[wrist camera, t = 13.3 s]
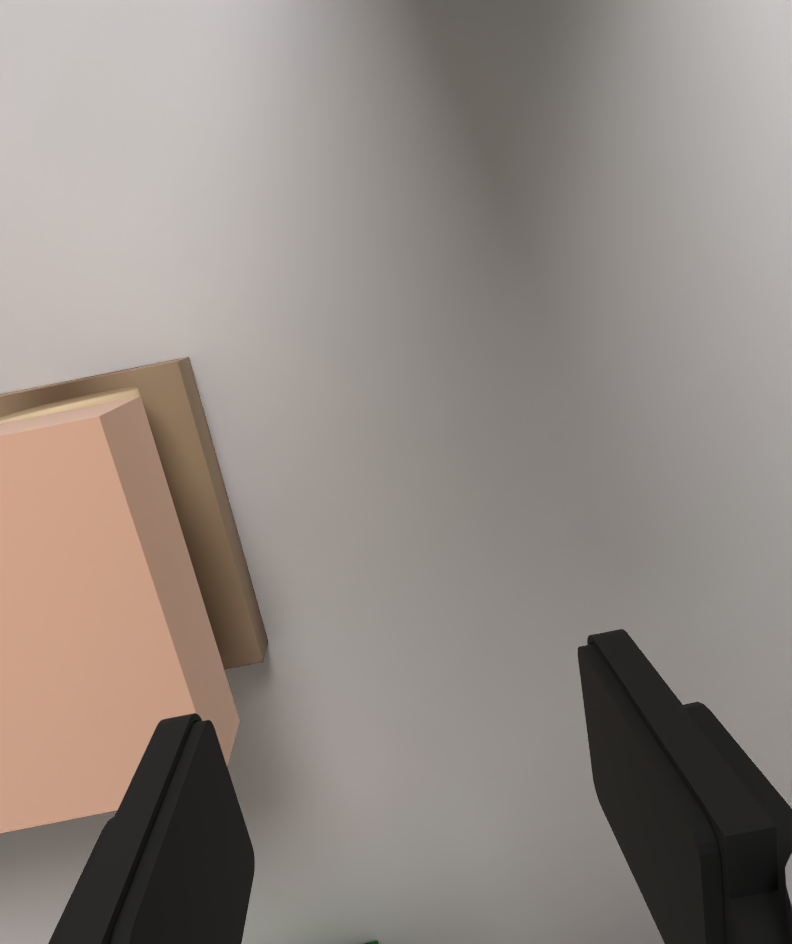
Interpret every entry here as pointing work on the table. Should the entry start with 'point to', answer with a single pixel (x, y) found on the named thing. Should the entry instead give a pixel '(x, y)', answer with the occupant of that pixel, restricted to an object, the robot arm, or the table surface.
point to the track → (184, 493)
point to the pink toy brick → (93, 610)
